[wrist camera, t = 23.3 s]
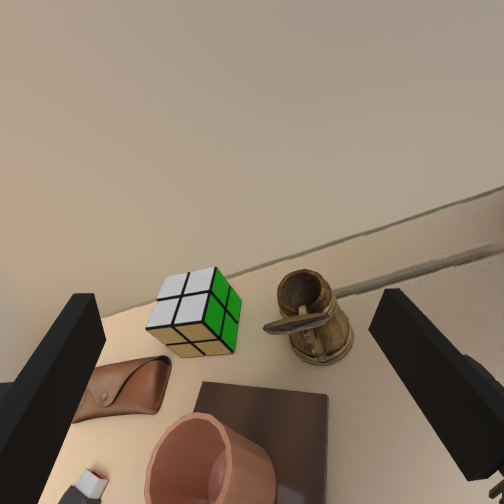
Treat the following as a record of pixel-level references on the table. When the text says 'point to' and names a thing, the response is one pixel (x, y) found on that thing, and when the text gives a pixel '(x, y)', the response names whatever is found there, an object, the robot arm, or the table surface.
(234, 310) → the puzzle cube
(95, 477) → the usb drive
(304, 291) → the wooden mug
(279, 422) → the walnut board
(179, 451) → the cup
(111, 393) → the sunglasses case
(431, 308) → the table surface
